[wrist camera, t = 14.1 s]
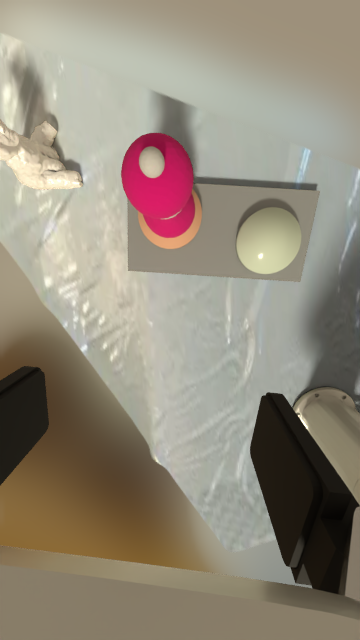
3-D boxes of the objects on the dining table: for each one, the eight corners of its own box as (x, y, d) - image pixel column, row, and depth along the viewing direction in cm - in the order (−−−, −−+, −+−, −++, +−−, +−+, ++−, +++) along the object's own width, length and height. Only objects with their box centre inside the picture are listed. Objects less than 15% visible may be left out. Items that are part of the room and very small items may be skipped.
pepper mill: (158, 181, 32) (116, 63, 13) (202, 202, 33) (224, 121, 13) (141, 228, 34) (81, 189, 15) (182, 248, 34) (178, 234, 15)
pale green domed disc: (302, 211, 34) (307, 209, 32) (289, 275, 37) (293, 275, 35) (239, 207, 34) (242, 205, 32) (231, 271, 37) (233, 272, 35)
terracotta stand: (204, 183, 33) (204, 180, 32) (198, 251, 36) (199, 250, 34) (140, 179, 33) (138, 176, 32) (139, 247, 36) (137, 246, 35)
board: (315, 193, 34) (319, 190, 33) (296, 281, 38) (300, 281, 37) (129, 181, 34) (127, 179, 33) (129, 270, 38) (128, 270, 37)
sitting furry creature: (87, 186, 35) (39, 150, 23) (45, 212, 36) (-21, 190, 25) (54, 123, 33) (-18, 50, 21) (10, 153, 34) (-80, 99, 22)
